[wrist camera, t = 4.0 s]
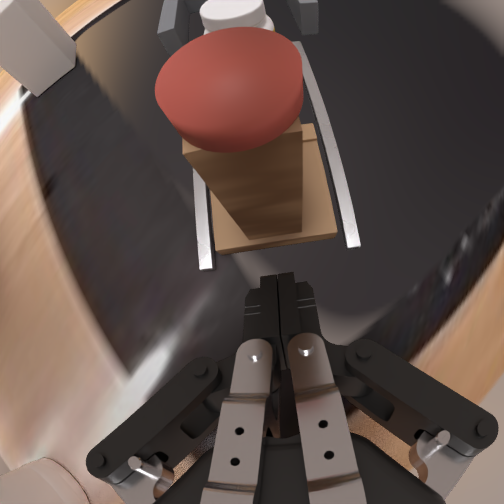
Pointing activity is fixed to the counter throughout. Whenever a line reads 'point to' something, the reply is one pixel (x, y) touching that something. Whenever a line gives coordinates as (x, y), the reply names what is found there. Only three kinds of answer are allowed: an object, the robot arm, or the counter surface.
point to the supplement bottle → (234, 15)
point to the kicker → (249, 137)
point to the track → (333, 164)
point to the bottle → (40, 485)
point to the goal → (184, 3)
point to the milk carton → (33, 45)
